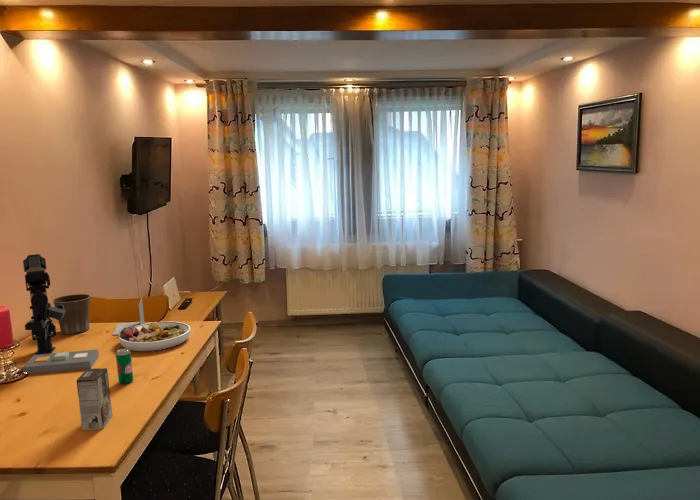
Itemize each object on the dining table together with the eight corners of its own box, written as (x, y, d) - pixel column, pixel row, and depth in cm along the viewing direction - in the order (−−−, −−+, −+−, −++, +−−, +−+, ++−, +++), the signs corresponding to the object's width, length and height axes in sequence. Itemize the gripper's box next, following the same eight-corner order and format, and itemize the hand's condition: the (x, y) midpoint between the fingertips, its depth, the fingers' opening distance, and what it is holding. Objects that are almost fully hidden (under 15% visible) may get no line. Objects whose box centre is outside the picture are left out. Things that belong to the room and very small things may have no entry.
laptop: (117, 325, 278) (115, 299, 275) (144, 322, 281) (142, 297, 279) (112, 336, 260) (109, 308, 258) (141, 333, 264) (139, 306, 261)
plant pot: (64, 326, 277) (60, 294, 274) (98, 324, 278) (95, 292, 276) (50, 337, 261) (46, 303, 258) (87, 335, 262) (83, 301, 260)
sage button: (57, 360, 226) (56, 353, 226) (69, 359, 227) (68, 351, 226) (54, 364, 222) (53, 356, 221) (66, 363, 223) (65, 355, 222)
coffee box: (92, 417, 179) (86, 368, 176) (113, 415, 179) (108, 367, 177) (81, 430, 170) (75, 379, 167) (103, 429, 170) (97, 378, 168)
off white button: (76, 360, 228) (76, 353, 227) (88, 359, 229) (87, 352, 228) (73, 364, 223) (73, 357, 223) (85, 363, 224) (85, 356, 224)
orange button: (38, 364, 225) (38, 357, 224) (50, 363, 226) (50, 356, 225) (35, 368, 221) (34, 361, 220) (47, 367, 222) (46, 360, 221)
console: (35, 362, 229) (34, 354, 229) (98, 356, 234) (98, 349, 233) (23, 374, 216) (22, 367, 215) (90, 368, 220) (89, 361, 220)
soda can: (128, 385, 203) (125, 353, 201) (115, 384, 204) (112, 352, 202) (136, 379, 208) (133, 348, 206) (123, 378, 209) (120, 347, 207)
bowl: (189, 328, 269) (188, 312, 268) (193, 348, 241) (191, 330, 240) (121, 336, 260) (120, 319, 259) (117, 358, 232) (115, 339, 231)
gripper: (54, 306, 213) (58, 346, 216) (68, 294, 231) (72, 331, 234) (22, 309, 211) (27, 349, 214) (39, 296, 229) (43, 333, 232)
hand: (44, 340), depth 223 cm, fingers closed
